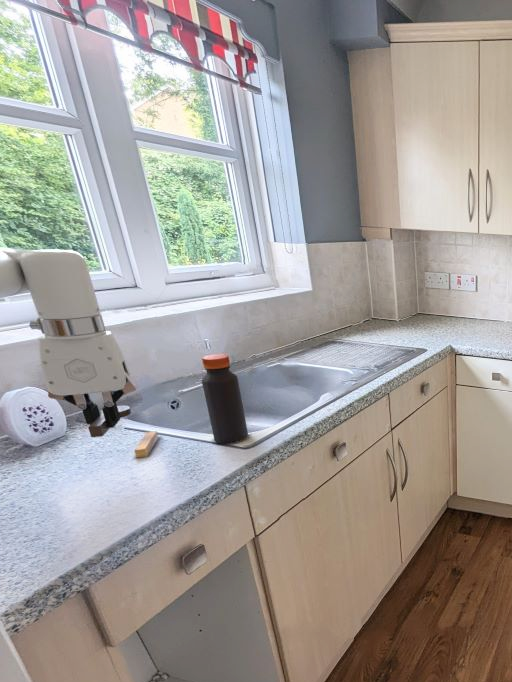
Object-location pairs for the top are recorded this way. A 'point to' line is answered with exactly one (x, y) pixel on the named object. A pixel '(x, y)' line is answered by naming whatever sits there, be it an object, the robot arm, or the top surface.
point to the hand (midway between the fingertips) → (105, 425)
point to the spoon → (100, 424)
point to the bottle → (223, 400)
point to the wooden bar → (146, 444)
